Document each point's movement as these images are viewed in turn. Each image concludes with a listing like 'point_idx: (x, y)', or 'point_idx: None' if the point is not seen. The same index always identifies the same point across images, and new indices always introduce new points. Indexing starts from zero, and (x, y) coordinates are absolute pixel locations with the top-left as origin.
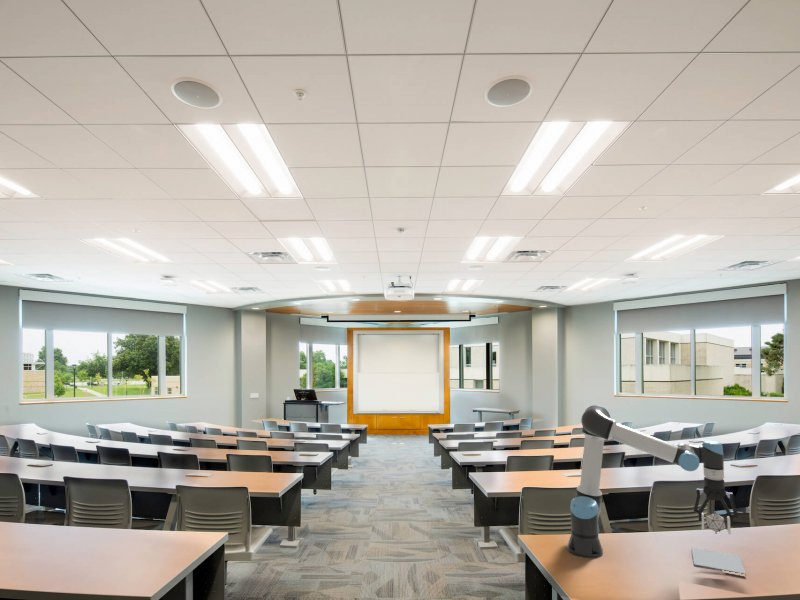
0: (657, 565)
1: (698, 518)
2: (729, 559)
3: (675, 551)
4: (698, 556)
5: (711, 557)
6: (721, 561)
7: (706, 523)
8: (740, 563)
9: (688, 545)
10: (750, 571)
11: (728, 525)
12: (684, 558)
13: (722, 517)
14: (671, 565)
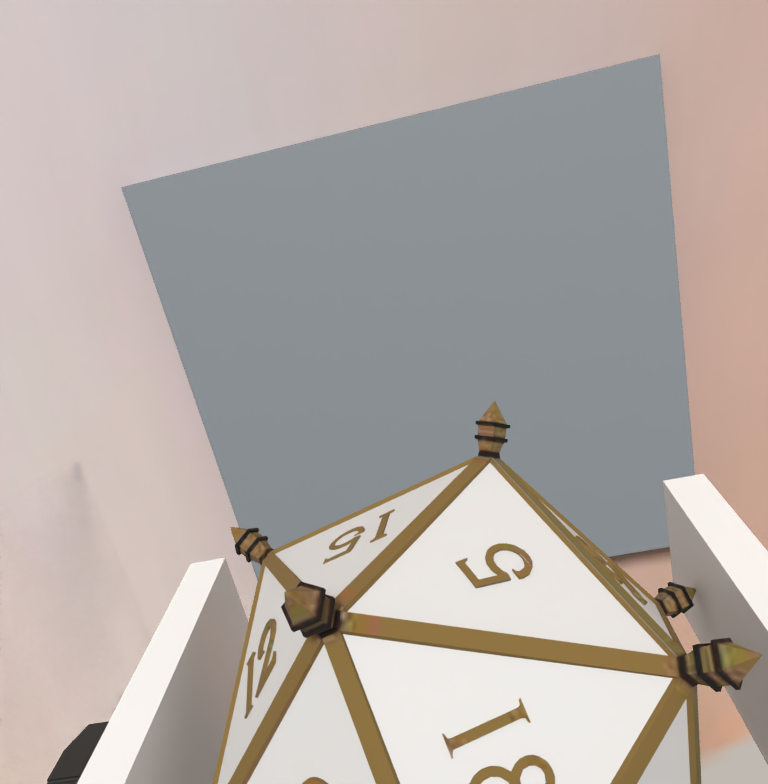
0: (35, 711)
1: (64, 769)
2: (553, 280)
3: (18, 330)
4: (257, 417)
5: (375, 355)
6: (479, 396)
7: (244, 553)
8: (666, 317)
9: (53, 23)
10: (742, 353)
11: (759, 735)
12: (148, 448)
13: (672, 737)
14: (116, 652)
